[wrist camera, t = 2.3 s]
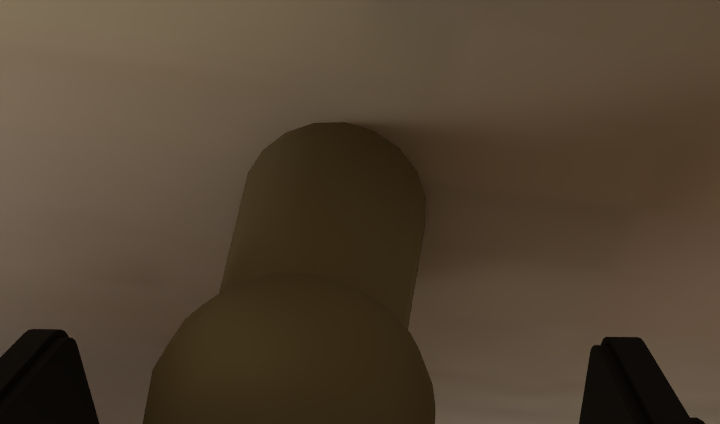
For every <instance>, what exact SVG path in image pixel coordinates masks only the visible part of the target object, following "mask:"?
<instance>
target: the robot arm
mask: <svg viewBox="0 0 720 424" xmlns="http://www.w3.org/2000/svg"><path fill="white" fill-rule="evenodd" d="M0 424H99V421H98V418H97V414H96V410H95V407H94V403H93V400H92V396H91V393H90V389H89V386H88V382H87V379H86V375H85V371H84V368H83V364H82V361H81V357H80V354H79V350H78V347H77V344H76V341H75V340H74V339H73V338H69V337H68V335H67V333H66V332H65V331H63V330H56V329H32V330H28V331H27V332H25V333H24V334H23V335H22V336H21V337H20V338H19V339H18V340H17V341H16V342H15V343H14V344H13V345H12V346H11V347H10V348H9V349H8V350H7V351H6V352H5V353H4V354H3V355H2V356H1V357H0ZM579 424H705V423H704V422H703V421H702V420H700V419H698V418H690V417H689V415H688V414H687V412H686V411H685V409H684V407H683V406H682V404H681V402H680V401H679V399H678V397H677V396H676V394H675V392H674V391H673V389H672V387H671V386H670V384H669V383H668V381H667V379H666V378H665V376H664V374H663V373H662V371H661V369H660V368H659V366H658V364H657V363H656V361H655V359H654V358H653V356H652V355H651V353H650V351H649V350H648V348H647V346H646V345H645V343H644V342H643V340H642V339H641V338H638V337H605V338H604V339H603V341H602V343H601V345H594V346H592V348H591V352H590V358H589V364H588V370H587V377H586V383H585V389H584V396H583V402H582V408H581V415H580V421H579Z"/></svg>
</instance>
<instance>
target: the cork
mask: <svg viewBox="0 0 720 424" xmlns="http://www.w3.org/2000/svg"><path fill="white" fill-rule="evenodd" d="M424 227H425V195H424V192H423V189H422V186H421V183H420V180H419V177H418V174H417V171H416V170H415V169H414V167H413V166H412V165H411V163H410V162H409V161H408V160H407V158H406V157H405V156H404V154H403V153H402V152H401V150H400V149H399V148H398V147H396V146H395V145H393V144H392V143H390V142H389V141H387V140H386V139H384V138H383V137H381V136H380V135H378V134H377V133H376V132H374V131H371V130H367V129H364V128H361V127H357V126H354V125H350V124H347V123H313V124H311V125H308V126H305V127H302V128H299V129H296V130H293V131H290V132H287V133H285V134H284V135H282V136H281V137H280V138H279V139H277V140H276V141H275V142H273V143H272V144H271V145H269V146H268V147H267V148H266V149H264V150H263V151H262V153H261V154H260V156H259V157H258V159H257V161H256V162H255V164H254V165H253V167H252V168H251V170H250V171H249V173H248V176H247V180H246V184H245V189H244V193H243V197H242V201H241V205H240V209H239V213H238V218H237V222H236V226H235V230H234V234H233V238H232V242H231V247H230V251H229V255H228V259H227V263H226V267H225V272H224V276H223V280H222V284H221V288H220V292H219V294H218V295H217V296H215V297H214V298H212V299H211V300H209V301H208V302H207V303H205V304H204V305H202V306H201V307H200V308H198V309H197V310H196V311H195V312H194V313H192V314H191V315H190V316H189V317H187V318H186V319H185V321H184V322H183V324H182V325H181V326H180V328H179V329H178V331H177V332H176V334H175V335H174V337H173V338H172V340H171V341H170V343H169V344H168V346H167V347H166V349H165V350H164V352H163V354H162V355H161V357H160V359H159V360H158V362H157V364H156V366H155V367H154V369H153V371H152V377H151V382H150V387H149V393H148V398H147V404H146V409H145V414H144V420H143V424H435V400H434V393H433V385H432V382H431V380H430V377H429V374H428V372H427V369H426V366H425V364H424V361H423V359H422V356H421V353H420V351H419V349H418V347H417V345H416V343H415V341H414V339H413V337H412V335H411V334H410V332H409V331H408V324H409V318H410V312H411V306H412V300H413V294H414V288H415V282H416V276H417V270H418V263H419V257H420V251H421V245H422V239H423V233H424Z"/></svg>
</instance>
